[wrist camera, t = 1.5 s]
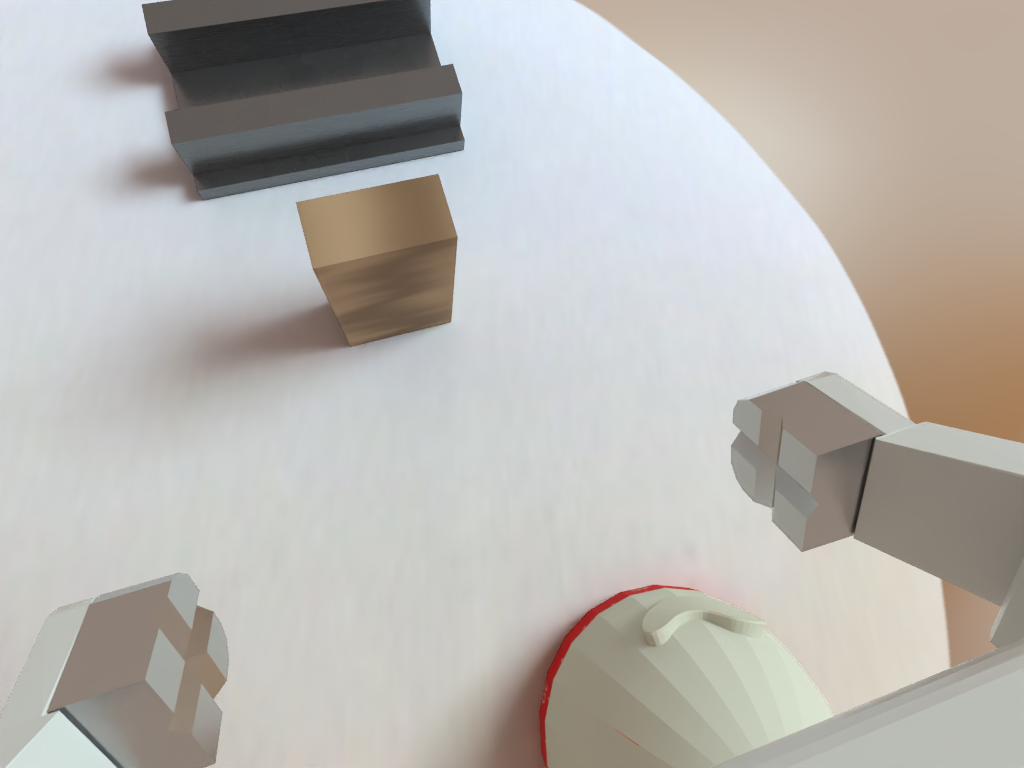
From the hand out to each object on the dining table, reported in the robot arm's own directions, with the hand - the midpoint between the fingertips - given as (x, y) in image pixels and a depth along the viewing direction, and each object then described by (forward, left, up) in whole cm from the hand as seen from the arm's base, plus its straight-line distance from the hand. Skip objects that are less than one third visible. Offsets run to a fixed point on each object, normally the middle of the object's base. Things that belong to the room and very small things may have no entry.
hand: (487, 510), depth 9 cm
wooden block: (-9, +8, -25) cm, 28 cm away
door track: (-21, +17, -25) cm, 37 cm away
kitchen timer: (+16, -3, -25) cm, 30 cm away
